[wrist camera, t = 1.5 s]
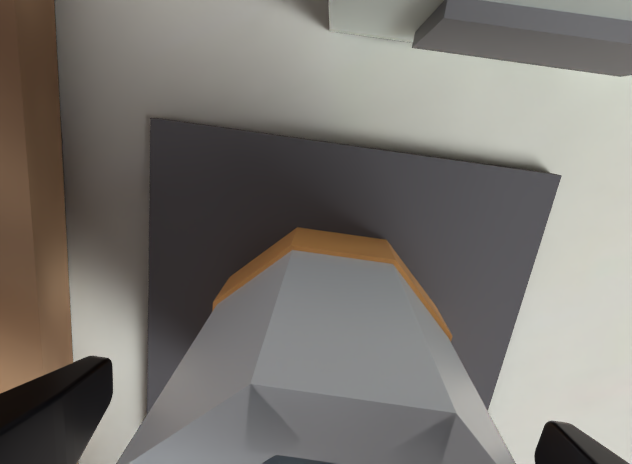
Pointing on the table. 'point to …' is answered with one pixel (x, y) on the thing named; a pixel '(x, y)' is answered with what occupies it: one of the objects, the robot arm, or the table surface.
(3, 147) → the pin board
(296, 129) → the table surface
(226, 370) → the sleeve
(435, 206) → the pad
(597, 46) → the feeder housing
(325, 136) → the table surface
